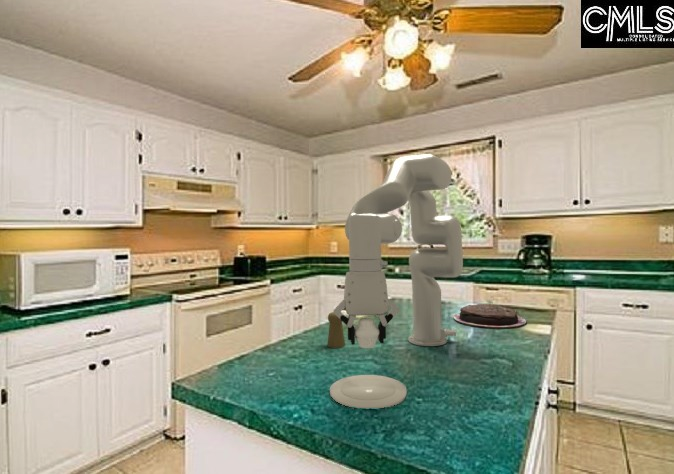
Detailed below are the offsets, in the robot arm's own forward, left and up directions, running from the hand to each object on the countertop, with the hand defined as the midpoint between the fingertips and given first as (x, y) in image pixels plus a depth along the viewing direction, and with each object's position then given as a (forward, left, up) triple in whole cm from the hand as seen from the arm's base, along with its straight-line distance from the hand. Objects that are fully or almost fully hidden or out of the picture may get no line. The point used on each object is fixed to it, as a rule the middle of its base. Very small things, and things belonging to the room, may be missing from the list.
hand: (366, 341), depth 96 cm
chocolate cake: (-59, -66, -13) cm, 90 cm away
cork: (+5, -40, -12) cm, 42 cm away
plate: (0, 0, -12) cm, 12 cm away
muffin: (0, 0, -1) cm, 1 cm away
